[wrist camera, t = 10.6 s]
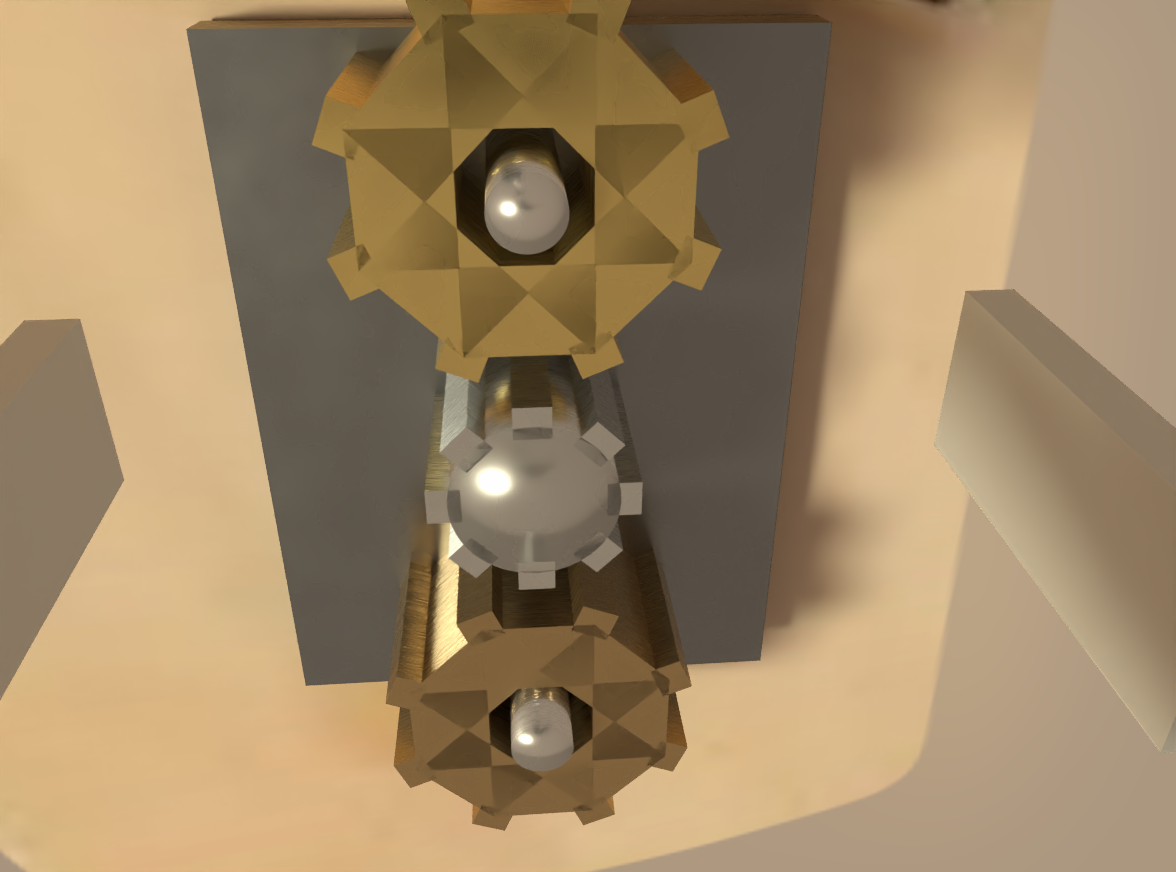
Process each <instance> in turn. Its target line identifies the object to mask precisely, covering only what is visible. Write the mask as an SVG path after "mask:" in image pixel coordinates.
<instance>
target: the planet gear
mask: <svg viewBox="0 0 1176 872" xmlns="http://www.w3.org/2000/svg"><path fill="white" fill-rule="evenodd" d="M406 3H407V6H408V8H409V10H410V12H411V14H412V16H413V18H414V20H415V23H416V27H415V28H414V29H413V30H412V31H411V32H410V34H409V35H408V36H407V37H406V38H405V39H404V40H403V42H402V43H401V44H400V45H399V46H398V47H397V49H396V50H395V51H394V52H393V53H392V54H391V56H390V57H389V58H388V59H387V60H386V61H385V63H383V62H380V61H378V60H375V59H373V58H370V57H368V56H365V55H363V54H360V53H358V52H356V53H355V54H354V56H353V57H352V59H351V60H350V61H349V63H348V64H347V66H346V67H345V69H344V70H343V71H342V73H341V74H340V76H339V77H338V78H337V80H336V81H335V83H334V84H333V86H332V87H331V88H330V90H329V91H328V93H327V94H326V96H325V99H324V103H323V106H322V110H321V113H320V117H319V120H318V124H317V128H316V131H315V135H314V138H313V142H312V145H313V146H316V147H318V148H321V149H324V150H326V151H329V152H332V153H334V154H337V155H340V156H342V157H345V159H346V168H347V176H348V185H349V194H350V204H349V206H348V209H347V211H346V214H345V216H344V218H343V221H342V223H341V226H340V228H339V231H338V233H337V235H336V238H335V240H334V243H333V245H332V248H331V250H330V252H329V255H328V257H327V261H328V263H329V264H330V266H331V268H332V270H333V271H334V273H335V275H336V276H337V278H338V280H339V282H340V283H341V285H342V287H343V289H344V290H345V292H346V294H347V295H348V297H349V299H350V301H351V300H354V299H356V298H358V297H361V296H363V295H365V294H368V293H370V292H372V291H374V290H377V289H380V290H381V291H383V292H384V293H385V294H386V295H388V296H389V297H390V298H391V299H392V300H394V301H395V302H396V303H397V304H398V305H400V306H401V307H402V308H403V309H405V310H406V311H407V312H408V313H409V314H411V315H412V316H413V317H414V318H416V319H417V320H418V321H419V322H420V323H422V324H423V325H424V326H425V327H426V328H428V329H429V330H430V331H431V332H433V333H434V334H435V335H436V336H437V337H439V338H438V347H437V356H436V365H435V369H438V370H441V371H444V372H447V373H450V374H453V375H456V376H459V377H462V378H465V379H468V380H471V381H474V382H477V383H478V382H479V380H480V377H481V375H482V372H483V370H484V367H485V365H486V362H487V360H488V357H510V356H540V355H570V354H571V355H572V357H573V360H574V362H575V364H576V366H577V368H578V370H579V372H580V375H581V377H582V379H584V378H587V377H589V376H592V375H594V374H597V373H599V372H602V371H604V370H606V369H609V368H611V367H614V366H616V365H619V364H621V363H624V360H623V356H622V353H621V349H620V345H619V341H618V337H617V333H618V332H619V331H620V330H621V329H622V328H623V327H624V326H625V325H627V324H628V323H629V322H630V321H631V320H632V319H633V318H634V317H635V316H636V315H637V314H638V313H639V312H640V311H641V310H643V309H644V308H645V307H646V306H647V305H648V304H649V303H650V302H651V301H652V300H653V299H654V298H655V297H656V296H657V295H658V294H660V293H661V292H662V291H663V290H664V289H665V288H666V287H667V286H668V285H669V284H670V283H671V282H672V281H673V280H674V281H677V282H679V283H682V284H685V285H687V286H690V287H693V288H695V289H698V290H702V288H703V286H704V284H705V282H706V280H707V278H708V276H709V274H710V272H711V270H712V268H713V266H714V264H715V262H716V260H717V258H718V256H719V254H720V252H721V250H722V249H721V247H720V245H719V244H718V242H717V240H716V238H715V237H714V235H713V233H712V232H711V230H710V228H709V227H708V225H707V223H706V221H705V220H704V218H703V216H702V215H701V213H700V211H699V209H698V208H697V206H696V204H695V203H696V184H697V166H698V151H699V150H702V149H704V148H706V147H709V146H711V145H713V144H716V143H718V142H720V141H723V140H725V139H727V138H730V137H729V134H728V131H727V128H726V125H725V122H724V119H723V116H722V113H721V110H720V107H719V104H718V101H717V99H716V96H715V93H714V90H713V89H712V88H711V87H710V86H709V85H708V83H707V82H706V81H705V80H704V79H703V78H702V77H701V76H700V75H699V74H698V73H697V72H696V71H695V70H694V69H693V68H692V67H691V66H690V65H689V64H688V62H687V61H686V60H685V59H684V58H683V57H682V56H681V55H680V54H679V53H678V52H677V51H676V50H675V49H671V50H669V51H667V52H665V53H662V54H660V55H658V56H656V57H653V58H651V59H649V60H648V59H647V58H646V57H645V56H644V55H643V54H642V53H641V52H640V51H639V50H638V49H637V48H636V46H635V45H634V44H633V43H632V42H631V41H630V40H629V39H628V38H627V37H626V36H625V35H624V33H623V32H622V31H621V30H620V28H621V25H622V23H623V20H624V18H625V15H626V13H627V10H628V8H629V5H630V3H631V0H406ZM503 128H554V129H555V130H556V131H557V132H558V133H559V134H560V135H561V136H562V137H563V138H564V139H565V140H566V141H567V142H568V143H569V144H570V145H571V146H572V147H573V148H574V149H575V150H576V151H577V164H576V165H575V166H574V167H573V168H572V169H571V170H570V171H569V172H568V173H567V174H566V175H565V176H564V177H563V181H564V186H565V191H566V195H567V200H568V204H569V212H570V214H569V222H568V226H567V229H566V231H565V233H564V234H563V236H562V237H561V239H560V240H559V241H558V242H557V243H556V244H555V245H554V246H552V247H551V248H549V249H547V250H545V251H543V252H540V253H536V254H529V255H528V254H518V253H514V252H511V251H509V250H507V249H505V248H504V247H502V246H501V245H499V244H498V243H497V242H496V241H495V240H494V238H493V237H492V236H491V234H490V232H489V231H488V228H487V226H486V222H485V215H484V213H485V185H484V184H483V183H482V182H481V181H480V180H479V179H478V178H477V177H476V176H474V175H473V174H472V173H471V172H470V171H469V170H468V169H467V168H466V167H465V166H464V165H463V161H464V160H465V159H466V158H467V156H468V155H469V154H470V153H471V152H472V151H473V150H474V149H475V148H476V147H477V146H478V145H479V144H480V142H481V141H482V140H483V139H484V138H485V137H486V136H487V135H488V134H489V133H490V132H491V131H492V129H503Z"/></svg>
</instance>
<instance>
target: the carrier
mask: <svg viewBox="0 0 1176 872" xmlns="http://www.w3.org/2000/svg"><path fill="white" fill-rule="evenodd" d="M415 27H416V23H415V20H414V19H348V20H242V21H200V22H198V23H196V24H195V25H193V26H191V27H189V28H187V29H186V30H187V35H188V41H189V46H190V52H191V57H192V63H193V68H194V74H195V79H196V85H197V90H198V96H199V101H200V107H201V112H202V118H203V123H204V129H205V134H206V140H207V145H208V150H209V156H210V161H211V167H212V172H213V178H214V183H215V189H216V194H217V200H218V205H219V211H220V216H221V222H222V227H223V233H224V238H225V244H226V249H227V255H228V260H229V266H230V271H231V277H232V282H233V288H234V293H235V299H236V304H237V310H238V315H239V321H240V326H241V332H242V337H243V343H244V348H245V354H246V359H247V365H248V370H249V376H250V381H251V387H252V392H253V398H254V403H255V409H256V414H257V420H258V425H259V431H260V436H261V442H262V447H263V453H264V458H265V464H266V469H267V475H268V480H269V486H270V491H271V497H272V502H273V507H274V513H275V518H276V524H277V529H278V535H279V540H280V546H281V551H282V557H283V562H284V568H285V573H286V579H287V584H288V590H289V595H290V601H291V606H292V612H293V617H294V623H295V628H296V634H297V639H298V645H299V650H300V656H301V661H302V667H303V672H304V678H305V683H306V686H308V685H326V684H344V683H362V682H380V681H389V673H390V665H391V657H392V649H393V641H394V633H395V625H396V617H397V610H398V602H399V594H400V586H401V584H402V581H403V579H404V577H405V574H406V572H407V569H408V567H409V564H410V562H412V563H416V564H419V565H423V566H427V567H430V568H432V567H433V566H434V565H435V564H436V563H437V562H438V561H439V560H440V559H442V558H443V557H444V556H445V555H446V554H447V553H448V552H449V555H448V558H449V559H450V560H451V561H453V562H454V563H456V564H457V565H458V566H460V567H461V568H463V569H464V570H465V571H467V572H468V573H470V574H471V575H473V576H474V577H475V578H477V577H478V576H479V575H480V574H482V573H483V572H484V571H485V570H486V569H487V568H488V567H489V566H490V565H493V566H496V567H499V568H502V569H505V570H509V571H514V572H518V578H519V590H526V589H546V588H555V570H559V569H562V568H565V567H568V566H571V565H573V564H575V563H577V562H579V561H583V562H584V563H585V564H587V565H588V566H589V567H591V568H592V569H593V570H595V571H596V572H598V571H599V570H600V569H601V568H603V567H604V566H605V565H606V564H607V563H608V562H610V561H611V560H612V559H613V558H614V557H615V556H617V555H618V554H619V553H620V552H621V551H623V550H624V551H625V552H626V553H628V554H629V555H630V556H632V557H633V558H635V557H638V556H640V555H643V554H646V553H648V552H651V551H654V552H655V554H656V556H657V559H658V561H659V563H660V565H661V567H662V569H663V571H664V573H665V577H666V581H667V585H668V590H669V594H670V598H671V602H672V606H673V610H674V614H675V619H676V623H677V627H678V631H679V635H680V639H681V644H682V648H683V652H684V656H685V660H686V664H704V663H721V662H739V661H757V660H760V657H761V648H762V639H763V630H764V622H765V613H766V604H767V595H768V586H769V577H770V568H771V559H772V551H773V542H774V533H775V524H776V515H777V506H778V497H779V488H780V480H781V471H782V462H783V453H784V444H785V435H786V426H787V417H788V409H789V400H790V391H791V382H792V373H793V364H794V355H795V347H796V338H797V329H798V320H799V311H800V302H801V293H802V284H803V276H804V267H805V258H806V249H807V240H808V231H809V222H810V213H811V205H812V196H813V187H814V178H815V169H816V160H817V151H818V142H819V134H820V125H821V116H822V107H823V98H824V89H825V80H826V71H827V63H828V54H829V45H830V36H831V27H832V22H830V21H828V20H826V19H824V18H821V17H819V16H817V15H773V16H667V17H625V18H624V20H623V23H622V25H621V28H620V30H621V31H622V32H623V33H624V35H625V36H626V37H627V38H628V39H629V40H630V41H631V42H632V43H633V44H634V45H635V46H636V48H637V49H638V50H639V51H640V52H641V53H642V54H643V55H644V56H645V57H646V58H647V59H648V60H649V59H651V58H653V57H656V56H658V55H660V54H662V53H665V52H667V51H669V50H671V49H675V50H676V51H677V52H678V53H679V54H680V55H681V56H682V57H683V58H684V59H685V60H686V61H687V62H688V64H689V65H690V66H691V67H692V68H693V69H694V70H695V71H696V72H697V73H698V74H699V75H700V76H701V77H702V78H703V79H704V80H705V81H706V82H707V83H708V85H709V86H710V87H711V88H712V89H713V90H714V93H715V96H716V99H717V101H718V104H719V107H720V110H721V113H722V116H723V119H724V122H725V125H726V128H727V131H728V134H729V137H730V138H727V139H725V140H723V141H720V142H718V143H716V144H713V145H711V146H709V147H706V148H704V149H702V150H699V151H698V166H697V184H696V203H695V204H696V206H697V208H698V209H699V211H700V213H701V215H702V216H703V218H704V220H705V221H706V223H707V225H708V227H709V228H710V230H711V232H712V233H713V235H714V237H715V238H716V240H717V242H718V244H719V245H720V247H721V249H722V250H721V252H720V254H719V256H718V258H717V260H716V262H715V264H714V266H713V268H712V270H711V272H710V274H709V276H708V278H707V280H706V282H705V284H704V286H703V288H702V290H698V289H695V288H693V287H690V286H687V285H685V284H682V283H679V282H677V281H674V280H673V281H672V282H671V283H670V284H669V285H668V286H667V287H666V288H665V289H664V290H663V291H662V292H661V293H660V294H658V295H657V296H656V297H655V298H654V299H653V300H652V301H651V302H650V303H649V304H648V305H647V306H646V307H645V308H644V309H643V310H641V311H640V312H639V313H638V314H637V315H636V316H635V317H634V318H633V319H632V320H631V321H630V322H629V323H628V324H627V325H625V326H624V327H623V328H622V329H621V330H620V331H619V332H618V333H617V337H618V341H619V345H620V349H621V353H622V356H623V360H624V363H621V364H619V365H616V366H614V367H611V368H609V369H606V370H604V371H602V372H599V373H597V374H594V375H592V376H589V377H587V378H584V379H582V377H581V375H580V372H579V370H578V368H577V366H576V364H575V362H574V360H573V357H572V355H571V354H570V355H540V356H510V357H488V360H487V362H486V365H485V367H484V370H483V372H482V375H481V377H480V380H479V382H478V383H477V382H474V381H471V380H468V379H465V378H462V377H459V376H456V375H453V374H450V373H447V372H444V371H441V370H438V369H435V365H436V356H437V347H438V338H439V337H437V336H436V335H435V334H434V333H433V332H431V331H430V330H429V329H428V328H426V327H425V326H424V325H423V324H422V323H420V322H419V321H418V320H417V319H416V318H414V317H413V316H412V315H411V314H409V313H408V312H407V311H406V310H405V309H403V308H402V307H401V306H400V305H398V304H397V303H396V302H395V301H394V300H392V299H391V298H390V297H389V296H388V295H386V294H385V293H384V292H383V291H381V290H380V289H377V290H374V291H372V292H370V293H368V294H365V295H363V296H361V297H358V298H356V299H354V300H351V301H350V299H349V297H348V295H347V294H346V292H345V290H344V289H343V287H342V285H341V283H340V282H339V280H338V278H337V276H336V275H335V273H334V271H333V270H332V268H331V266H330V264H329V263H328V261H327V257H328V255H329V252H330V250H331V248H332V245H333V243H334V240H335V238H336V235H337V233H338V231H339V228H340V226H341V223H342V221H343V218H344V216H345V214H346V211H347V209H348V206H349V204H350V194H349V185H348V176H347V168H346V159H345V157H342V156H340V155H337V154H334V153H332V152H329V151H326V150H324V149H321V148H318V147H316V146H313V145H312V142H313V138H314V135H315V131H316V128H317V124H318V120H319V117H320V113H321V110H322V106H323V103H324V99H325V96H326V94H327V93H328V91H329V90H330V88H331V87H332V86H333V84H334V83H335V81H336V80H337V78H338V77H339V76H340V74H341V73H342V71H343V70H344V69H345V67H346V66H347V64H348V63H349V61H350V60H351V59H352V57H353V56H354V54H355V53H356V52H358V53H360V54H363V55H365V56H368V57H370V58H373V59H375V60H378V61H380V62H383V63H385V61H386V60H387V59H388V58H389V57H390V56H391V54H392V53H393V52H394V51H395V50H396V49H397V47H398V46H399V45H400V44H401V43H402V42H403V40H404V39H405V38H406V37H407V36H408V35H409V34H410V32H411V31H412V30H413V29H414V28H415ZM576 164H577V151H576V150H575V149H574V148H573V147H572V146H571V145H570V144H569V143H568V142H567V141H566V140H565V139H564V138H563V137H562V136H561V135H560V134H559V133H558V132H557V131H556V130H555V129H554V128H503V129H492V131H491V132H490V133H489V134H488V135H487V136H486V137H485V138H484V139H483V140H482V141H481V142H480V144H479V145H478V146H477V147H476V148H475V149H474V150H473V151H472V152H471V153H470V154H469V155H468V156H467V158H466V159H465V160H464V161H463V165H464V166H465V167H466V168H467V169H468V170H469V171H470V172H471V173H472V174H473V175H474V176H476V177H477V178H478V179H479V180H480V181H481V182H482V183H483V184H484V185H485V213H484V215H485V222H486V226H487V228H488V231H489V232H490V234H491V236H492V237H493V238H494V240H495V241H496V242H497V243H498V244H499V245H501V246H502V247H504V248H505V249H507V250H509V251H511V252H514V253H518V254H528V255H529V254H536V253H540V252H543V251H545V250H547V249H549V248H551V247H552V246H554V245H555V244H556V243H557V242H558V241H559V240H560V239H561V237H562V236H563V234H564V233H565V231H566V229H567V226H568V222H569V214H570V212H569V204H568V200H567V195H566V191H565V186H564V181H563V177H564V176H565V175H566V174H567V173H568V172H569V171H570V170H571V169H572V168H573V167H574V166H575V165H576ZM510 712H511V752H512V756H513V758H514V760H515V761H516V762H517V763H518V764H519V765H520V766H522V767H523V768H526V769H528V770H532V771H549V770H553V769H556V768H558V767H560V766H562V765H563V764H565V763H566V762H567V761H568V760H569V759H570V757H571V756H572V753H573V748H574V746H573V736H572V725H571V714H570V703H569V692H568V690H566V689H565V688H563V687H545V688H528V689H518V690H516V691H515V692H514V693H513V694H512V695H510Z"/></svg>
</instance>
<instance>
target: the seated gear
mask: <svg viewBox="0 0 1176 872" xmlns="http://www.w3.org/2000/svg"><path fill="white" fill-rule="evenodd" d="M448 555H449V552H448V553H447V554H446V555H445V556H444V557H443V558H442V559H440V560H439V561H438V562H437V563H436V564H435V565H434V566H433V567H432V568H430V567H427V566H423V565H419V564H416V563H412V562H410V564H409V567H408V569H407V572H406V574H405V577H404V579H403V581H402V584H401V586H400V594H399V602H398V610H397V617H396V625H395V633H394V641H393V649H392V657H391V665H390V673H389V681H388V689H387V697H386V704H389V705H394V706H398V707H400V713H399V722H398V731H397V740H396V749H395V759H394V767H395V768H396V769H397V771H398V772H399V773H400V775H401V776H402V777H403V779H404V780H405V781H406V783H407V784H408V785H409V787H410V788H412V787H414V786H417V785H420V784H423V783H425V782H428V781H431V780H432V781H434V782H436V783H438V784H439V785H441V786H443V787H444V788H446V789H448V790H449V791H451V792H453V793H455V794H456V795H458V796H460V797H461V798H463V799H465V800H466V801H468V802H470V803H471V804H473V815H472V824H476V825H481V826H486V827H491V828H495V829H500V830H505V829H506V827H507V825H508V823H509V821H510V819H511V818H512V816H513V815H528V814H543V813H558V812H574V811H575V813H576V814H577V816H578V817H579V819H580V820H581V822H582V824H583V825H586V824H588V823H591V822H594V821H597V820H600V819H603V818H606V817H608V816H611V815H614V814H615V812H614V804H613V795H614V794H616V793H617V792H618V791H620V790H621V789H622V788H624V787H625V786H626V785H628V784H629V783H630V782H632V781H633V780H634V779H635V778H637V777H638V776H639V775H641V774H642V773H643V772H645V771H646V770H647V769H649V768H650V767H651V766H652V767H656V768H661V769H665V770H669V771H673V770H674V768H675V767H676V765H677V764H678V762H679V760H680V759H681V757H682V755H683V754H684V752H685V751H686V749H687V743H686V739H685V734H684V730H683V725H682V720H681V716H680V711H679V707H678V702H677V698H676V693H675V692H677V691H680V690H682V689H685V688H688V687H691V686H692V685H691V681H690V677H689V673H688V669H687V664H686V660H685V656H684V652H683V648H682V644H681V639H680V635H679V631H678V627H677V623H676V619H675V614H674V610H673V606H672V602H671V598H670V594H669V590H668V585H667V581H666V577H665V573H664V571H663V569H662V567H661V565H660V563H659V561H658V559H657V556H656V554H655V552H654V551H651V552H648V553H646V554H643V555H640V556H638V557H635V558H633V557H632V556H630V555H629V554H628V553H626V552H625V551H624V550H623V551H621V552H620V553H619V554H618V555H617V556H615V557H614V558H613V559H612V560H611V561H610V562H608V563H607V564H606V565H605V566H604V567H603V568H601V569H600V570H599V571H598V572H596V571H595V570H593V569H592V568H591V567H589V566H588V565H587V564H585V563H584V562H583V561H579V562H577V563H575V564H573V565H571V566H568V567H565V568H562V569H559V570H555V588H546V589H526V590H519V578H518V572H514V571H509V570H505V569H502V568H499V567H496V566H493V565H490V566H489V567H488V568H487V569H486V570H485V571H484V572H483V573H482V574H480V575H479V576H478V577H477V578H475V577H474V576H473V575H471V574H470V573H468V572H467V571H465V570H464V569H463V568H461V567H460V566H458V565H457V564H456V563H454V562H453V561H451V560H450V559H449V558H448ZM545 687H563V688H565V689H566V690H568V692H569V703H570V714H571V725H572V736H573V746H574V748H573V753H572V756H571V757H570V759H569V760H568V761H567V762H566V763H565V764H563V765H562V766H560V767H558V768H556V769H553V770H549V771H532V770H528V769H526V768H523V767H522V766H520V765H519V764H518V763H517V762H516V761H515V760H514V758H513V756H512V752H511V712H510V695H512V694H513V693H514V692H515V691H516V690H518V689H528V688H545Z"/></svg>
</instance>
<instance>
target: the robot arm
mask: <svg viewBox="0 0 1176 872" xmlns="http://www.w3.org/2000/svg"><path fill="white" fill-rule="evenodd" d="M934 446H935V447H936V448H937V450H938V451H939V453H940V454H941V455H942V457H943V458H944V459H945V461H946V462H947V463H948V465H949V466H950V467H951V469H952V470H953V472H954V473H955V474H956V476H957V477H958V478H959V480H960V481H961V482H962V484H963V485H964V487H965V488H966V489H967V491H968V492H969V493H970V495H971V496H972V497H973V498H974V500H975V501H976V503H977V504H978V506H979V507H980V508H981V510H982V511H983V512H984V513H985V515H986V516H987V517H988V519H989V520H990V522H991V523H992V525H993V526H994V527H995V528H996V530H997V531H998V533H999V534H1000V535H1001V537H1002V538H1003V539H1004V541H1005V542H1006V544H1007V545H1008V546H1009V548H1010V549H1011V550H1012V552H1013V553H1014V554H1015V556H1016V557H1017V559H1018V560H1019V561H1020V562H1021V564H1022V565H1023V566H1024V568H1025V569H1026V571H1027V572H1028V573H1029V575H1030V576H1031V577H1032V579H1033V580H1034V582H1035V583H1036V584H1037V585H1038V587H1039V588H1040V590H1041V591H1042V592H1043V594H1044V595H1045V597H1046V598H1047V599H1048V601H1049V602H1050V603H1051V605H1052V606H1053V607H1054V609H1055V610H1056V611H1057V613H1058V614H1059V616H1060V617H1061V618H1062V619H1063V621H1064V622H1065V624H1066V625H1067V626H1068V628H1069V629H1070V631H1071V632H1072V633H1073V635H1074V636H1075V637H1076V639H1077V640H1078V641H1079V643H1080V644H1081V645H1082V647H1083V648H1084V650H1085V651H1086V652H1087V653H1088V655H1089V656H1090V658H1091V659H1092V660H1093V662H1094V663H1095V664H1096V666H1097V667H1098V669H1099V670H1100V671H1101V673H1102V674H1103V675H1104V677H1105V678H1106V679H1107V681H1108V682H1109V683H1110V685H1111V686H1112V688H1113V689H1114V690H1115V692H1116V693H1117V694H1118V696H1119V697H1120V698H1121V700H1122V701H1123V702H1124V704H1125V705H1126V706H1127V708H1128V709H1129V711H1130V712H1131V713H1132V715H1133V716H1134V717H1135V719H1136V720H1137V722H1138V723H1139V724H1140V726H1141V727H1142V728H1143V730H1144V731H1145V732H1146V734H1147V735H1148V737H1149V738H1150V739H1151V741H1152V742H1153V743H1154V745H1155V746H1156V747H1157V749H1158V750H1159V751H1160V753H1167V752H1176V428H1175V427H1174V426H1172V425H1171V424H1170V423H1169V422H1168V421H1166V419H1164V418H1163V417H1162V416H1161V415H1160V414H1159V413H1157V412H1156V411H1155V410H1154V409H1153V408H1152V407H1150V406H1149V405H1148V404H1147V403H1146V402H1145V401H1143V400H1142V399H1141V398H1140V397H1139V396H1138V395H1136V394H1135V393H1134V392H1133V391H1132V390H1131V389H1129V388H1128V387H1127V386H1126V385H1124V384H1123V383H1122V382H1121V381H1120V380H1119V379H1118V378H1117V377H1115V376H1114V375H1113V374H1112V373H1111V372H1110V371H1108V370H1107V369H1106V368H1105V367H1103V365H1101V364H1100V363H1099V362H1098V361H1097V360H1096V359H1094V358H1093V357H1092V356H1091V355H1090V354H1089V353H1087V352H1086V351H1085V350H1084V349H1083V348H1082V347H1080V346H1079V345H1078V344H1077V343H1076V342H1075V341H1073V340H1072V339H1071V338H1070V337H1069V336H1068V335H1066V334H1065V333H1064V332H1063V331H1062V330H1061V329H1059V328H1058V327H1057V326H1056V325H1055V324H1053V323H1052V322H1051V321H1050V320H1049V319H1048V318H1047V317H1045V316H1044V315H1043V314H1042V313H1041V312H1040V311H1038V310H1037V309H1036V308H1035V307H1034V306H1033V305H1031V304H1030V303H1029V302H1028V301H1027V300H1026V299H1024V298H1023V297H1022V296H1021V295H1020V294H1019V293H1018V292H1016V291H1015V290H1014V289H1013V290H981V291H966V292H965V297H964V302H963V307H962V312H961V316H960V321H959V326H958V331H957V336H956V341H955V346H954V350H953V355H952V360H951V365H950V370H949V375H948V380H947V385H946V389H945V394H944V399H943V404H942V409H941V414H940V419H939V423H938V428H937V433H936V438H935V443H934ZM123 481H124V478H123V475H122V471H121V467H120V464H119V460H118V456H117V453H116V449H115V445H114V442H113V438H112V435H111V431H110V427H109V424H108V420H107V416H106V413H105V409H104V405H103V402H102V398H101V394H100V391H99V387H98V383H97V380H96V376H95V372H94V369H93V365H92V361H91V358H90V354H89V350H88V347H87V343H86V340H85V336H84V332H83V329H82V325H81V321H80V319H60V320H28V321H24V322H23V323H22V324H21V325H20V326H19V327H18V328H17V329H16V330H15V331H14V332H13V333H12V334H11V335H10V336H9V337H8V338H7V339H6V340H5V342H4V343H3V344H2V345H1V346H0V700H1V698H2V696H3V694H4V692H5V691H6V689H7V687H8V685H9V684H10V682H11V680H12V678H13V676H14V675H15V673H16V671H17V669H18V668H19V666H20V664H21V662H22V660H23V659H24V657H25V655H26V653H27V652H28V650H29V648H30V646H31V644H32V643H33V641H34V639H35V637H36V636H37V634H38V632H39V630H40V628H41V627H42V625H43V623H44V621H45V620H46V618H47V616H48V614H49V612H50V611H51V609H52V607H53V605H54V604H55V602H56V600H57V598H58V596H59V595H60V593H61V591H62V589H63V588H64V586H65V584H66V582H67V580H68V579H69V577H70V575H71V573H72V572H73V570H74V568H75V566H76V564H77V563H78V561H79V559H80V557H81V556H82V554H83V552H84V550H85V549H86V547H87V545H88V543H89V541H90V540H91V538H92V536H93V534H94V533H95V531H96V529H97V527H98V525H99V524H100V522H101V520H102V518H103V517H104V515H105V513H106V511H107V509H108V508H109V506H110V504H111V502H112V501H113V499H114V497H115V495H116V493H117V492H118V490H119V488H120V486H121V485H122V483H123Z"/></svg>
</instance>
